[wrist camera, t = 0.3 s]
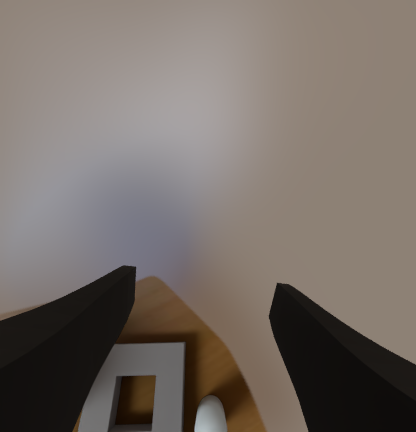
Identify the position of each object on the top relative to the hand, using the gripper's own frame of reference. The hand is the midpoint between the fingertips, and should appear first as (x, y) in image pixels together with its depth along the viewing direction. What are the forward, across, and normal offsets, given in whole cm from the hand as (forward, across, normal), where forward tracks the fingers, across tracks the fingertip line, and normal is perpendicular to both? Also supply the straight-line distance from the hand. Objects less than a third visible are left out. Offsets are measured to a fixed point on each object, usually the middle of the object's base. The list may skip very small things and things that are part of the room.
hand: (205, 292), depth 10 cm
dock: (+14, +6, +29) cm, 33 cm away
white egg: (+12, -5, +29) cm, 32 cm away
